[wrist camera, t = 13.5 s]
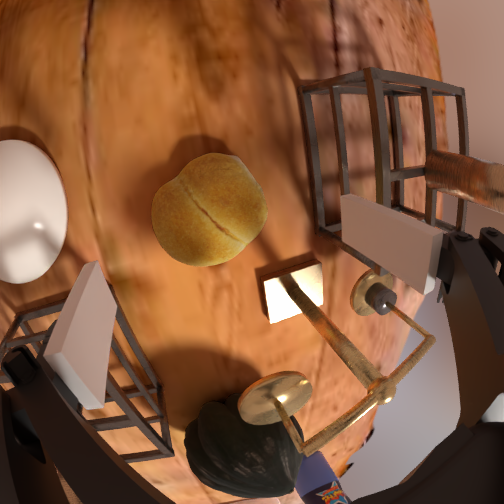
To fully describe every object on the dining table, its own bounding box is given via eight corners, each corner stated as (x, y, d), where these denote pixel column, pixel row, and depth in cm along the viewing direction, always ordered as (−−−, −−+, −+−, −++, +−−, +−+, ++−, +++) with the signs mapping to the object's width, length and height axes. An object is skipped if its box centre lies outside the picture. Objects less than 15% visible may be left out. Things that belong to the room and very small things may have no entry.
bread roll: (133, 212, 21) (127, 226, 17) (218, 136, 20) (230, 134, 17) (199, 278, 24) (207, 301, 21) (276, 211, 24) (297, 224, 21)
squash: (156, 468, 26) (253, 531, 20) (172, 404, 23) (309, 488, 17) (215, 421, 39) (294, 467, 33) (243, 354, 35) (343, 408, 29)
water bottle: (293, 457, 46) (344, 546, 24) (328, 447, 49) (381, 526, 27) (279, 474, 48) (322, 554, 26) (312, 465, 52) (357, 537, 30)
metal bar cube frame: (79, 402, 25) (77, 542, 8) (16, 313, 19) (-48, 476, 3) (164, 386, 28) (198, 545, 11) (111, 284, 22) (86, 511, 5)
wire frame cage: (315, 234, 26) (484, 354, 10) (297, 86, 20) (522, 55, 4) (399, 209, 29) (541, 278, 12) (392, 90, 23) (559, 100, 6)
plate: (-4, 288, 18) (-11, 296, 16) (-42, 172, 13) (-51, 175, 11) (89, 255, 20) (85, 262, 19) (52, 116, 15) (45, 115, 14)
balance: (212, 335, 27) (269, 483, 13) (199, 295, 25) (257, 459, 10) (360, 282, 31) (464, 366, 16) (362, 243, 29) (484, 321, 14)
